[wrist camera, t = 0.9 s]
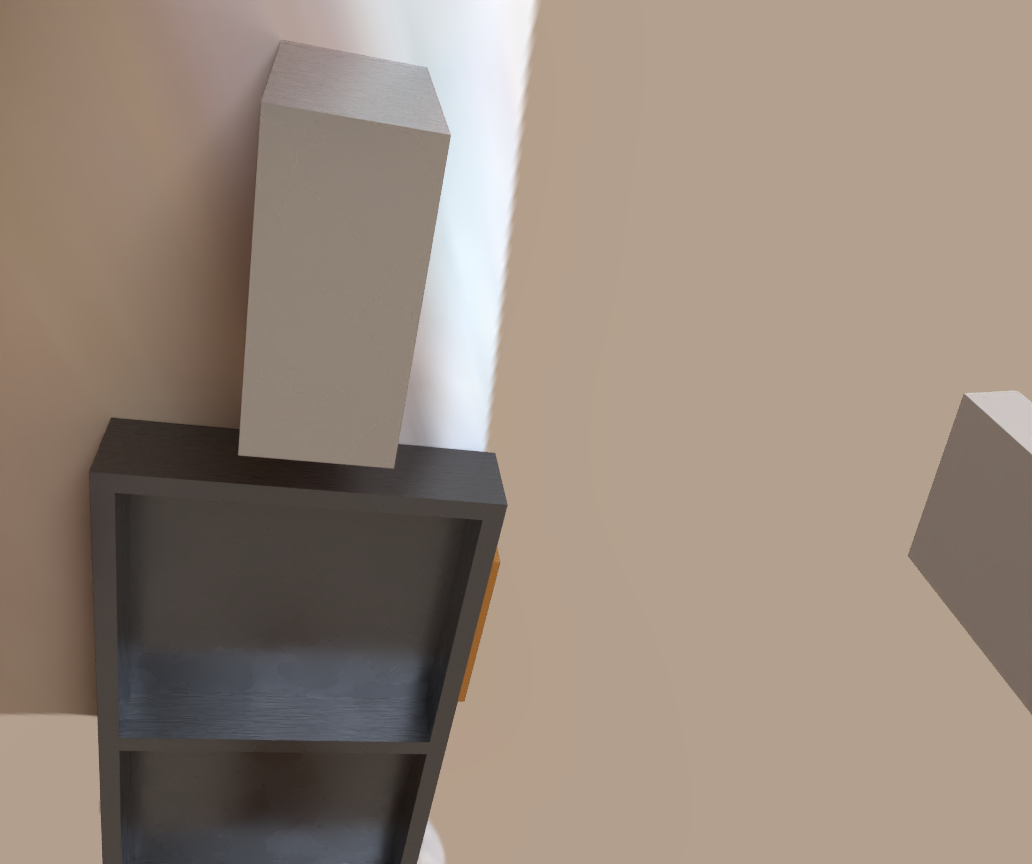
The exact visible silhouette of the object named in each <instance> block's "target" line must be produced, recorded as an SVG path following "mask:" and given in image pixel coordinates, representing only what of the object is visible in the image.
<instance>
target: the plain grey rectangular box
mask: <svg viewBox="0 0 1032 864" xmlns="http://www.w3.org/2000/svg"><path fill="white" fill-rule="evenodd" d="M450 137H451V134H450V131H449V128H448V125H447V123H446V120H445V117H444V114H443V111H442V108H441V105H440V102H439V100H438V97H437V94H436V91H435V88H434V85H433V82H432V79H431V77H430V74H429V71H428V68H427V67H422V66H416V65H411V64H406V63H401V62H396V61H390V60H385V59H380V58H375V57H369V56H364V55H359V54H354V53H349V52H343V51H338V50H333V49H328V48H322V47H317V46H312V45H307V44H302V43H296V42H291V41H286V40H281V43H280V46H279V49H278V52H277V55H276V58H275V61H274V64H273V67H272V70H271V73H270V76H269V79H268V82H267V86H266V89H265V92H264V95H263V98H262V101H261V112H260V128H259V143H258V158H257V174H256V189H255V204H254V220H253V235H252V251H251V266H250V281H249V297H248V312H247V327H246V343H245V358H244V374H243V389H242V404H241V420H240V435H239V450H238V455H240V456H252V457H264V458H276V459H287V460H299V461H311V462H323V463H334V464H346V465H358V466H370V467H381V468H393V469H394V465H395V459H396V453H397V447H398V442H399V436H400V430H401V424H402V418H403V412H404V406H405V401H406V395H407V389H408V383H409V377H410V371H411V365H412V359H413V354H414V348H415V342H416V336H417V330H418V324H419V318H420V313H421V307H422V301H423V295H424V289H425V283H426V277H427V271H428V266H429V260H430V254H431V248H432V242H433V236H434V230H435V225H436V219H437V213H438V207H439V201H440V195H441V189H442V184H443V178H444V172H445V166H446V160H447V154H448V148H449V142H450Z"/></svg>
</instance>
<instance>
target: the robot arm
mask: <svg viewBox="0 0 1032 864" xmlns="http://www.w3.org/2000/svg"><path fill="white" fill-rule="evenodd" d="M908 557H909V558H910V559H911V560H912V562H913V563H914V565H915V566H916V567H917V568H918V570H919V571H920V572H921V573H922V575H923V576H924V577H925V579H926V580H927V581H928V582H929V584H930V585H931V586H932V588H933V589H934V590H935V591H936V593H937V594H938V595H939V596H940V598H941V599H942V600H943V602H944V603H945V604H946V605H947V607H948V608H949V609H950V611H951V612H952V613H953V614H954V616H955V617H956V618H957V619H958V621H959V622H960V623H961V624H962V626H963V627H964V628H965V630H966V631H967V632H968V634H969V635H970V636H971V637H972V639H973V640H974V641H975V643H976V644H977V645H978V646H979V648H980V649H981V650H982V652H983V653H984V654H985V655H986V657H987V658H988V659H989V660H990V662H991V663H992V664H993V666H994V667H995V668H996V669H997V671H998V672H999V673H1000V675H1001V676H1002V677H1003V678H1004V680H1005V681H1006V682H1007V683H1008V685H1009V686H1010V687H1011V689H1012V690H1013V691H1014V692H1015V694H1016V695H1017V696H1018V698H1019V699H1020V700H1021V701H1022V703H1023V704H1024V705H1025V707H1026V708H1027V709H1028V710H1029V712H1030V713H1031V714H1032V402H1030V401H1029V400H1028V399H1027V398H1026V397H1024V396H1023V395H1022V394H1021V393H1020V392H1018V391H999V392H980V393H964V395H963V398H962V400H961V403H960V406H959V409H958V412H957V415H956V418H955V421H954V424H953V427H952V430H951V432H950V435H949V438H948V441H947V444H946V447H945V450H944V453H943V456H942V458H941V461H940V464H939V467H938V470H937V473H936V476H935V479H934V481H933V485H932V487H931V490H930V493H929V496H928V499H927V502H926V505H925V507H924V510H923V514H922V516H921V519H920V522H919V525H918V528H917V531H916V534H915V536H914V539H913V542H912V545H911V548H910V551H909V554H908Z"/></svg>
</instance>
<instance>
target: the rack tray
mask: <svg viewBox="0 0 1032 864" xmlns="http://www.w3.org/2000/svg"><path fill="white" fill-rule="evenodd" d="M239 435H240V430H239V429H228V428H217V427H206V426H195V425H184V424H173V423H162V422H152V421H141V420H130V419H119V418H111V420H110V422H109V425H108V427H107V430H106V432H105V434H104V437H103V439H102V442H101V444H100V447H99V449H98V452H97V454H96V456H95V459H94V461H93V464H92V466H91V469H90V471H89V483H90V512H91V541H92V570H93V599H94V627H95V656H96V685H97V714H98V740H99V741H98V742H99V770H100V800H101V829H102V857H103V864H417V860H418V856H419V852H420V848H421V844H422V841H423V837H424V833H425V829H426V825H427V821H428V817H429V813H430V809H431V804H432V801H433V797H434V793H435V789H436V785H437V781H438V777H439V773H440V769H441V765H442V761H443V757H444V754H445V750H446V746H447V742H448V738H449V734H450V729H451V726H452V722H453V718H454V714H455V710H456V706H457V702H458V701H465V697H466V693H467V689H468V685H469V681H470V677H471V673H472V670H473V665H474V662H475V658H476V654H477V650H478V646H479V643H480V638H481V635H482V631H483V627H484V623H485V619H486V615H487V611H488V608H489V604H490V600H491V596H492V592H493V588H494V585H495V580H496V577H497V573H498V569H499V565H500V560H499V555H498V550H497V544H498V540H499V536H500V532H501V528H502V524H503V520H504V516H505V512H506V508H507V501H506V497H505V493H504V489H503V484H502V480H501V476H500V472H499V468H498V464H497V459H496V455H495V453H488V452H478V451H467V450H456V449H445V448H434V447H423V446H412V445H402V444H398V447H397V453H396V459H395V465H394V469H393V468H381V467H370V466H358V465H346V464H334V463H323V462H311V461H299V460H287V459H276V458H264V457H252V456H240V455H238V450H239Z"/></svg>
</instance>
